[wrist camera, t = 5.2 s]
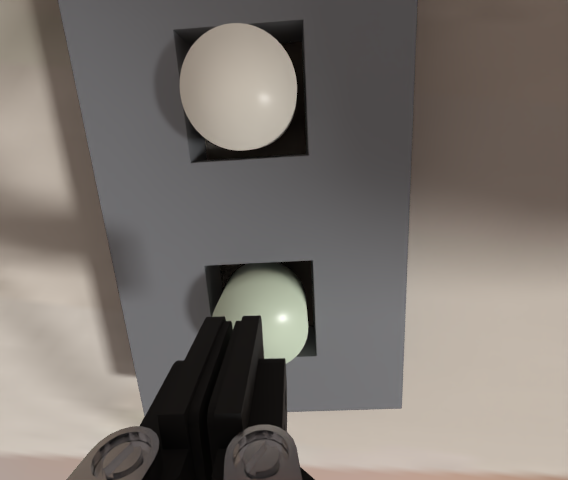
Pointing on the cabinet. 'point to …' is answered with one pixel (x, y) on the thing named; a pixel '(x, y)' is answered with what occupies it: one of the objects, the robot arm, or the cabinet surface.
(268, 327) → the sage button
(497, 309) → the cabinet surface
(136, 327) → the button panel
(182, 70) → the cream button
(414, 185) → the cabinet surface
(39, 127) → the cabinet surface
